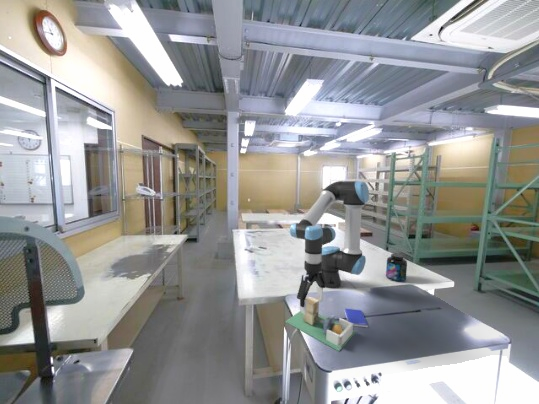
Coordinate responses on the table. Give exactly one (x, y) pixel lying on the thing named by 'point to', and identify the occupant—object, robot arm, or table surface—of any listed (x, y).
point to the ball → (337, 329)
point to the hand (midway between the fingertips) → (311, 306)
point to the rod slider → (313, 317)
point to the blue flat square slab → (356, 317)
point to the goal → (344, 335)
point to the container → (396, 268)
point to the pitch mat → (314, 329)
